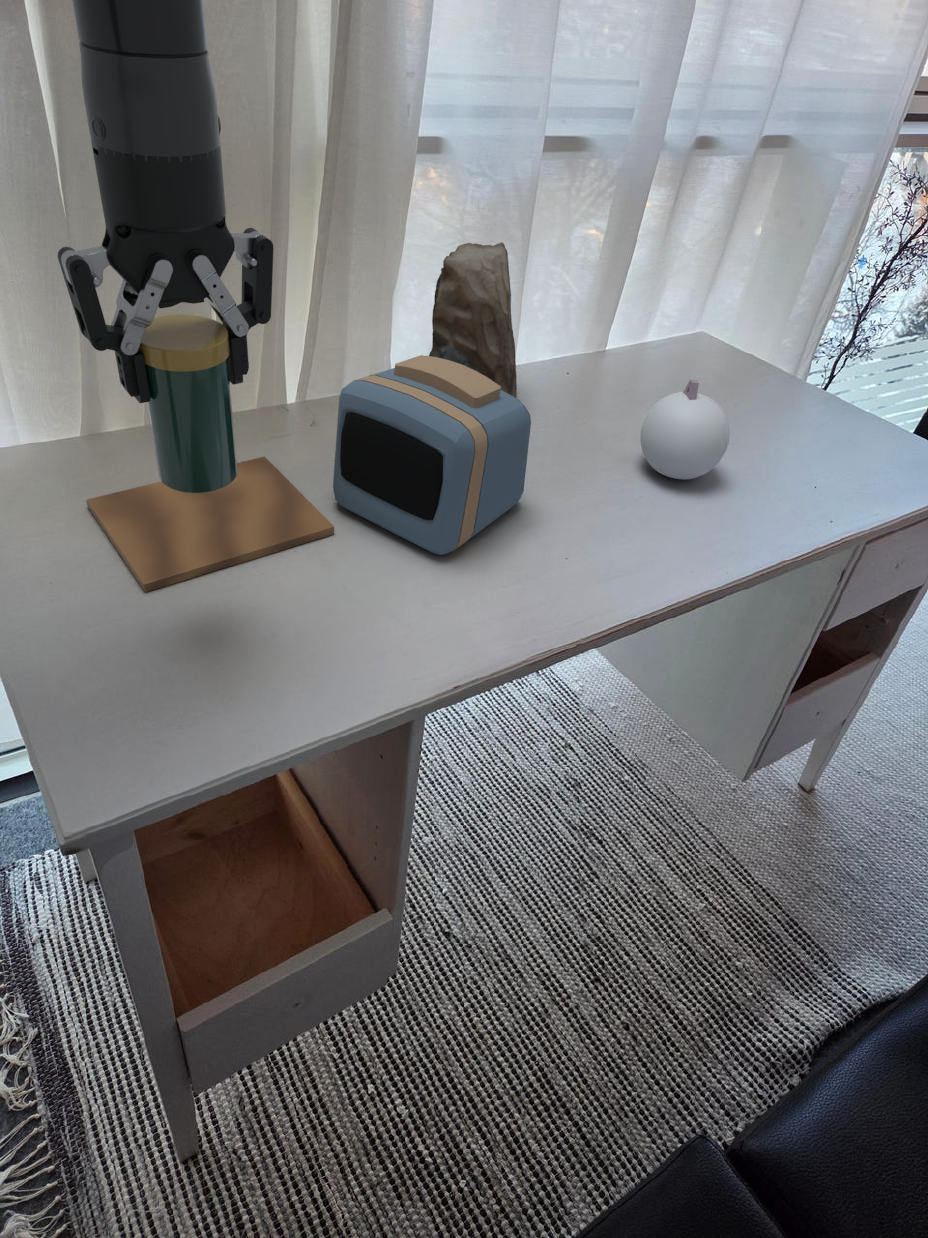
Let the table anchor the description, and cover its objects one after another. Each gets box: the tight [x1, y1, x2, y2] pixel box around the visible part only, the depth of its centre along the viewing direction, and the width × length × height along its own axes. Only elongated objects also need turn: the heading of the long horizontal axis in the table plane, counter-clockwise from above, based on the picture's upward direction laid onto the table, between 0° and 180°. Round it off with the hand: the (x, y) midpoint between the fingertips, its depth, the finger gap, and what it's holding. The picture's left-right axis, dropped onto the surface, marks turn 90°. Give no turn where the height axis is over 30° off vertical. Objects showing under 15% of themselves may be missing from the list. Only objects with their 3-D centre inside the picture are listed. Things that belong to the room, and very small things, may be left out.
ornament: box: [639, 379, 731, 480], centre depth 102 cm, size 10×10×12 cm
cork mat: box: [85, 456, 335, 593], centre depth 87 cm, size 20×16×1 cm
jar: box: [139, 314, 238, 493], centre depth 63 cm, size 6×6×12 cm
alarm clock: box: [332, 354, 532, 556], centre depth 89 cm, size 16×16×16 cm
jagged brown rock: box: [428, 241, 518, 399], centre depth 107 cm, size 13×13×20 cm
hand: (187, 388), depth 62 cm, fingers closed on jar, 6 cm apart
